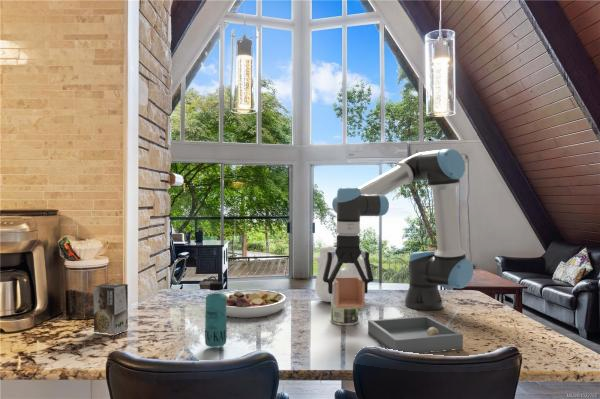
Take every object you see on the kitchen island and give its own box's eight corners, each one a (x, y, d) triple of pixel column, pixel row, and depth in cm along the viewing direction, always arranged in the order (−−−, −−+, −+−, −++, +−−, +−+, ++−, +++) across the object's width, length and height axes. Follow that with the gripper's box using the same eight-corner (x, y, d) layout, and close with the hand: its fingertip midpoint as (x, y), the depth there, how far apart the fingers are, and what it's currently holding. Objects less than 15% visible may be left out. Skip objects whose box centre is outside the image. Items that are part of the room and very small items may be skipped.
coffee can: (359, 318, 154) (359, 281, 154) (357, 326, 144) (357, 286, 144) (332, 316, 156) (332, 279, 156) (328, 324, 146) (328, 285, 146)
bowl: (221, 300, 182) (221, 282, 182) (288, 301, 181) (288, 283, 181) (202, 320, 152) (202, 299, 152) (282, 321, 151) (282, 300, 151)
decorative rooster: (316, 307, 170) (316, 247, 170) (312, 298, 185) (312, 243, 185) (375, 306, 171) (375, 247, 171) (367, 297, 187) (367, 243, 187)
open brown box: (332, 301, 137) (332, 277, 137) (358, 300, 138) (358, 277, 138) (336, 308, 128) (336, 282, 128) (364, 307, 129) (364, 282, 129)
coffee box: (128, 331, 139) (128, 283, 139) (114, 337, 132) (114, 287, 132) (107, 328, 142) (107, 282, 142) (92, 334, 135) (92, 285, 135)
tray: (427, 328, 141) (427, 315, 141) (462, 349, 122) (462, 334, 122) (368, 333, 136) (368, 320, 136) (395, 355, 117) (395, 340, 117)
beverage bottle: (206, 344, 125) (206, 280, 125) (228, 344, 126) (228, 279, 126) (203, 352, 119) (203, 284, 119) (226, 352, 120) (226, 284, 120)
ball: (438, 336, 125) (429, 327, 127) (431, 343, 127) (423, 334, 128) (442, 332, 128) (434, 323, 129) (435, 338, 130) (427, 329, 131)
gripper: (316, 235, 129) (316, 306, 128) (383, 235, 130) (383, 305, 130) (313, 233, 136) (313, 300, 136) (377, 233, 138) (377, 300, 138)
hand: (347, 303), depth 133 cm, fingers closed on open brown box, 9 cm apart
